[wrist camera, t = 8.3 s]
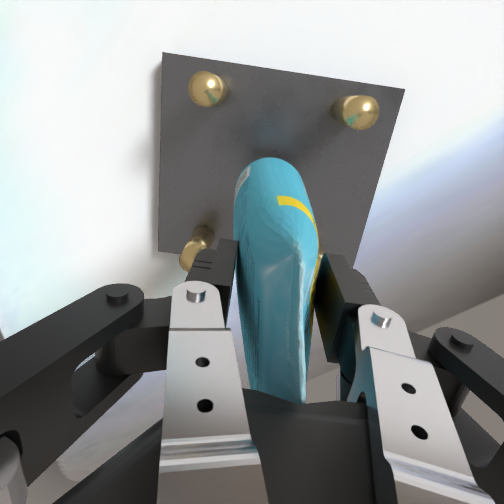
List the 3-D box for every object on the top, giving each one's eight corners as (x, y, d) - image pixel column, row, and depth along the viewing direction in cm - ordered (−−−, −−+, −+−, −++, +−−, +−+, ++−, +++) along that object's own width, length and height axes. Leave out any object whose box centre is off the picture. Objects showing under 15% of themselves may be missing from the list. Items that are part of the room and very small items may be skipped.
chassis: (397, 89, 26) (436, 87, 20) (346, 269, 33) (364, 307, 27) (167, 54, 26) (139, 41, 20) (162, 244, 33) (140, 277, 27)
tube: (305, 235, 26) (397, 531, 8) (242, 241, 26) (199, 537, 8) (300, 131, 23) (428, 252, 5) (228, 140, 23) (118, 278, 5)
